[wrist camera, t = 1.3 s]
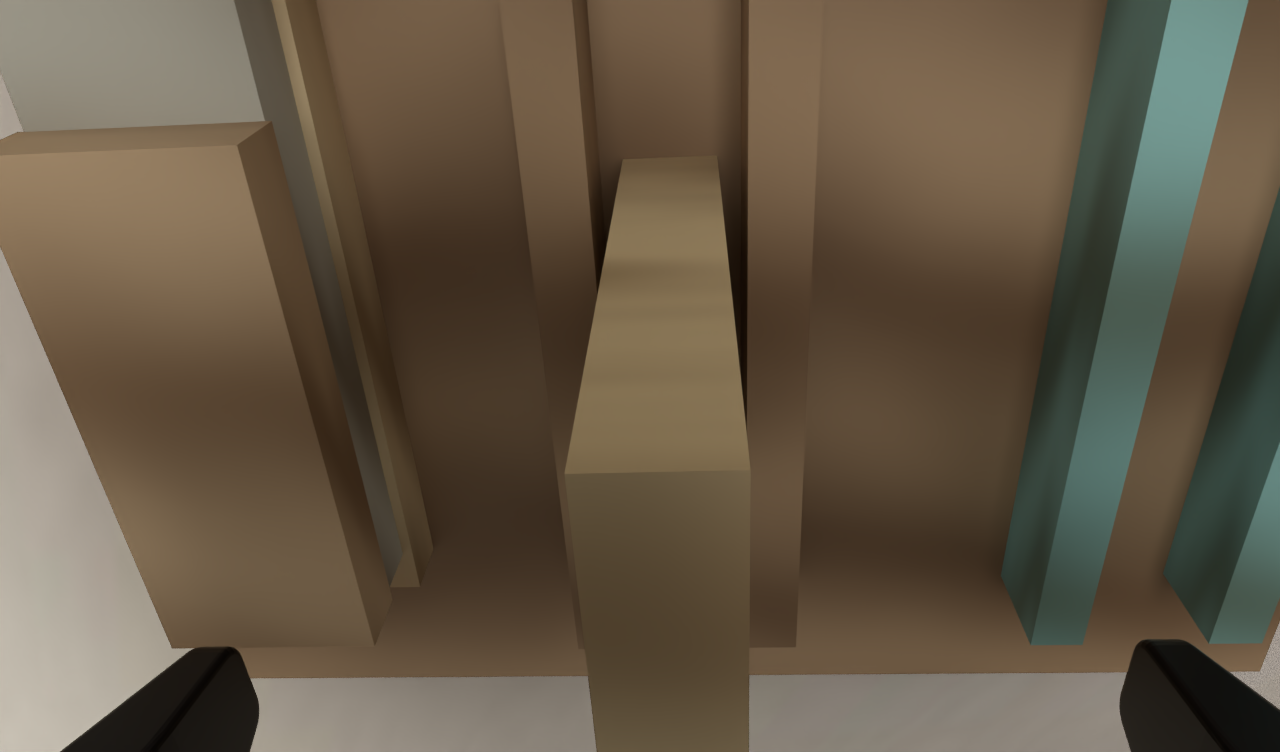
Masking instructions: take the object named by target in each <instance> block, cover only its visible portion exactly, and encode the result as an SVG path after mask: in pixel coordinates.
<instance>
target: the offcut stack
mask: <svg viewBox="0 0 1280 752" xmlns="http://www.w3.org/2000/svg"><path fill="white" fill-rule="evenodd" d="M0 72H1V74H2V77H3V80H4V82H5V85H6V87H7V90H8V92H9V95H10V98H11V100H12V103H13V105H14V108H15V110H16V113H17V116H18V118H19V121H20V123H21V126H22V128H23V131H24V132H17V133H15V134H12V135H10V136H8V137H6V138H3V139H1V140H0V247H1V249H2V252H3V254H4V256H5V259H6V261H7V263H8V266H9V268H10V270H11V273H12V275H13V278H14V280H15V282H16V285H17V287H18V289H19V292H20V294H21V296H22V299H23V301H24V303H25V306H26V308H27V310H28V313H29V315H30V317H31V320H32V322H33V324H34V327H35V329H36V331H37V334H38V336H39V338H40V341H41V343H42V345H43V348H44V350H45V352H46V355H47V357H48V359H49V362H50V364H51V366H52V369H53V371H54V373H55V376H56V378H57V380H58V383H59V385H60V387H61V390H62V392H63V394H64V397H65V399H66V401H67V404H68V406H69V408H70V411H71V413H72V415H73V418H74V420H75V422H76V425H77V427H78V429H79V432H80V434H81V436H82V439H83V441H84V443H85V446H86V448H87V450H88V453H89V455H90V457H91V460H92V462H93V464H94V467H95V469H96V471H97V474H98V476H99V479H100V481H101V483H102V486H103V488H104V490H105V493H106V495H107V497H108V500H109V502H110V504H111V507H112V509H113V511H114V514H115V516H116V518H117V521H118V523H119V525H120V528H121V530H122V532H123V535H124V537H125V539H126V542H127V544H128V546H129V549H130V551H131V553H132V556H133V558H134V560H135V563H136V565H137V567H138V570H139V572H140V574H141V577H142V579H143V581H144V584H145V586H146V588H147V591H148V593H149V595H150V598H151V600H152V602H153V605H154V607H155V609H156V612H157V614H158V616H159V619H160V621H161V623H162V626H163V628H164V630H165V633H166V635H167V637H168V640H169V642H170V644H171V647H172V648H198V647H215V646H230V647H234V648H269V647H375V645H376V642H377V639H378V637H379V634H380V631H381V629H382V626H383V623H384V621H385V618H386V616H387V613H388V610H389V608H390V605H391V602H392V600H393V599H392V595H391V591H390V587H420V586H421V583H422V580H423V577H424V574H425V572H426V569H427V566H428V563H429V560H430V557H431V554H432V552H433V544H432V539H431V535H430V530H429V525H428V521H427V516H426V511H425V507H424V502H423V497H422V493H421V488H420V483H419V479H418V474H417V469H416V465H415V460H414V456H413V451H412V446H411V442H410V437H409V432H408V428H407V423H406V418H405V414H404V409H403V404H402V400H401V395H400V390H399V386H398V381H397V376H396V372H395V367H394V362H393V358H392V353H391V348H390V344H389V339H388V335H387V330H386V325H385V321H384V316H383V311H382V307H381V302H380V297H379V293H378V288H377V283H376V279H375V274H374V269H373V265H372V260H371V255H370V251H369V246H368V241H367V237H366V232H365V227H364V223H363V218H362V214H361V209H360V204H359V200H358V195H357V190H356V186H355V181H354V176H353V172H352V167H351V162H350V158H349V153H348V148H347V144H346V139H345V134H344V130H343V125H342V120H341V116H340V111H339V106H338V102H337V97H336V93H335V88H334V83H333V79H332V74H331V69H330V65H329V60H328V55H327V51H326V46H325V41H324V37H323V32H322V27H321V23H320V18H319V13H318V9H317V4H316V0H0Z"/></svg>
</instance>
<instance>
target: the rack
mask: <svg viewBox="0 0 1280 752" xmlns="http://www.w3.org/2000/svg"><path fill="white" fill-rule="evenodd" d="M316 4H317V9H318V13H319V18H320V23H321V27H322V32H323V37H324V41H325V46H326V51H327V55H328V60H329V65H330V69H331V74H332V79H333V83H334V88H335V93H336V97H337V102H338V106H339V111H340V116H341V120H342V125H343V130H344V134H345V139H346V144H347V148H348V153H349V158H350V162H351V167H352V172H353V176H354V181H355V186H356V190H357V195H358V200H359V204H360V209H361V214H362V218H363V223H364V227H365V232H366V237H367V241H368V246H369V251H370V255H371V260H372V265H373V269H374V274H375V279H376V283H377V288H378V293H379V297H380V302H381V307H382V311H383V316H384V321H385V325H386V330H387V335H388V339H389V344H390V348H391V353H392V358H393V362H394V367H395V372H396V376H397V381H398V386H399V390H400V395H401V400H402V404H403V409H404V414H405V418H406V423H407V428H408V432H409V437H410V442H411V446H412V451H413V456H414V460H415V465H416V469H417V474H418V479H419V483H420V488H421V493H422V497H423V502H424V507H425V511H426V516H427V521H428V525H429V530H430V535H431V539H432V544H433V552H432V554H431V557H430V560H429V563H428V566H427V569H426V572H425V574H424V577H423V580H422V583H421V586H420V587H390V591H391V595H392V599H393V600H392V602H391V605H390V608H389V610H388V613H387V616H386V618H385V621H384V623H383V626H382V629H381V631H380V634H379V637H378V639H377V642H376V645H375V647H269V648H235V649H237V650H238V651H239V652H240V654H241V656H242V658H243V661H244V663H245V666H246V669H247V671H248V674H249V677H250V678H350V677H497V676H588V671H587V663H586V654H585V646H584V637H583V629H582V620H581V612H580V603H579V594H578V586H577V577H576V569H575V560H574V552H573V543H572V535H571V526H570V518H569V509H568V500H567V492H566V483H565V475H564V473H565V468H566V463H567V457H568V452H569V446H570V441H571V436H572V430H573V425H574V419H575V414H576V409H577V403H578V398H579V392H580V387H581V382H582V376H583V371H584V365H585V360H586V355H587V349H588V344H589V339H590V333H591V328H592V322H593V317H594V312H595V306H596V301H597V295H598V290H599V285H600V279H601V274H602V268H603V263H604V258H605V252H606V247H607V241H608V236H609V231H610V225H611V220H612V215H613V209H614V204H615V198H616V193H617V188H618V182H619V177H620V171H621V166H622V161H623V159H644V158H668V157H692V156H717V159H718V169H719V178H720V188H721V197H722V206H723V216H724V225H725V234H726V244H727V253H728V263H729V272H730V281H731V291H732V300H733V309H734V319H735V328H736V338H737V347H738V356H739V366H740V375H741V385H742V394H743V403H744V413H745V422H746V431H747V441H748V450H749V460H750V469H751V488H750V632H749V675H792V674H939V673H1087V672H1127V671H1128V668H1129V664H1130V661H1131V658H1132V654H1133V651H1134V649H1135V646H1136V645H1137V644H1138V643H1139V642H1140V641H1142V640H1145V639H1180V640H1184V641H1187V642H1189V643H1191V644H1192V645H1194V646H1195V647H1196V648H1198V649H1199V650H1200V651H1202V652H1203V653H1204V654H1206V655H1207V656H1209V657H1210V658H1211V659H1213V660H1214V661H1215V662H1217V663H1218V664H1219V665H1221V666H1222V667H1223V668H1225V669H1226V670H1227V671H1229V672H1234V671H1260V669H1261V667H1262V664H1263V662H1264V659H1265V657H1266V654H1267V652H1268V649H1269V647H1270V644H1271V642H1272V639H1273V637H1274V634H1275V631H1276V629H1277V626H1278V624H1279V621H1280V0H316Z"/></svg>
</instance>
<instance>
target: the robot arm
mask: <svg viewBox="0 0 1280 752" xmlns="http://www.w3.org/2000/svg"><path fill="white" fill-rule="evenodd" d="M1120 715H1121V720H1122V724H1123V727H1124V731H1125V734H1126V737H1127V740H1128V743H1129V747H1130V750H1131V752H1280V709H1278V708H1277V707H1276V706H1274V705H1273V704H1272V703H1270V702H1269V701H1268V700H1266V699H1265V698H1263V697H1262V696H1261V695H1259V694H1258V693H1257V692H1255V691H1254V690H1253V689H1251V688H1250V687H1249V686H1247V685H1246V684H1245V683H1243V682H1242V681H1241V680H1239V679H1238V678H1237V677H1235V676H1234V675H1233V674H1231V673H1230V672H1229V671H1227V670H1226V669H1225V668H1223V667H1222V666H1221V665H1219V664H1218V663H1217V662H1215V661H1214V660H1213V659H1211V658H1210V657H1209V656H1207V655H1206V654H1204V653H1203V652H1202V651H1200V650H1199V649H1198V648H1196V647H1195V646H1194V645H1192V644H1191V643H1189V642H1187V641H1184V640H1180V639H1145V640H1142V641H1140V642H1139V643H1138V644H1137V645H1136V646H1135V649H1134V651H1133V654H1132V658H1131V661H1130V664H1129V668H1128V671H1127V675H1126V678H1125V681H1124V685H1123V688H1122V692H1121V696H1120ZM258 719H259V703H258V698H257V695H256V693H255V690H254V687H253V685H252V682H251V679H250V677H249V674H248V671H247V669H246V666H245V663H244V661H243V658H242V656H241V654H240V652H239V651H238V650H237V649H235V648H234V647H230V646H215V647H198V648H195V649H192V650H191V651H189V652H188V653H186V654H185V655H184V656H182V657H181V658H180V659H178V660H177V661H176V662H175V663H173V664H172V665H171V666H169V667H168V668H167V669H166V670H164V671H163V672H162V673H160V674H159V675H158V676H157V677H155V678H154V679H153V680H152V681H150V682H149V683H148V684H146V685H145V686H144V687H143V688H141V689H140V690H139V691H137V692H136V693H135V694H134V695H132V696H131V697H130V698H128V699H127V700H126V701H125V702H123V703H122V704H121V705H119V706H118V707H117V708H116V709H114V710H113V711H112V712H110V713H109V714H108V715H107V716H105V717H104V718H103V719H101V720H100V721H99V722H98V723H96V724H95V725H94V726H92V727H91V728H90V729H89V730H87V731H86V732H85V733H83V734H82V735H81V736H80V737H78V738H77V739H76V740H74V741H73V742H72V743H71V744H69V745H68V746H67V747H65V748H64V749H63V750H62V751H60V752H250V749H251V746H252V742H253V739H254V735H255V732H256V728H257V724H258Z"/></svg>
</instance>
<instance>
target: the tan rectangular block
mask: <svg viewBox="0 0 1280 752" xmlns="http://www.w3.org/2000/svg"><path fill="white" fill-rule="evenodd" d="M564 475H565V483H566V492H567V500H568V509H569V518H570V526H571V535H572V543H573V552H574V560H575V569H576V577H577V586H578V594H579V603H580V612H581V620H582V629H583V637H584V646H585V654H586V663H587V671H588V680H589V688H590V697H591V706H592V714H593V723H594V731H595V740H596V748H597V752H749V632H750V488H751V469H750V460H749V450H748V441H747V431H746V422H745V413H744V403H743V394H742V385H741V375H740V366H739V356H738V347H737V338H736V328H735V319H734V309H733V300H732V291H731V281H730V272H729V263H728V253H727V244H726V234H725V225H724V216H723V206H722V197H721V188H720V178H719V169H718V159H717V156H692V157H668V158H644V159H623V161H622V166H621V171H620V177H619V182H618V188H617V193H616V198H615V204H614V209H613V215H612V220H611V225H610V231H609V236H608V241H607V247H606V252H605V258H604V263H603V268H602V274H601V279H600V285H599V290H598V295H597V301H596V306H595V312H594V317H593V322H592V328H591V333H590V339H589V344H588V349H587V355H586V360H585V365H584V371H583V376H582V382H581V387H580V392H579V398H578V403H577V409H576V414H575V419H574V425H573V430H572V436H571V441H570V446H569V452H568V457H567V463H566V468H565V473H564Z"/></svg>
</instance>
